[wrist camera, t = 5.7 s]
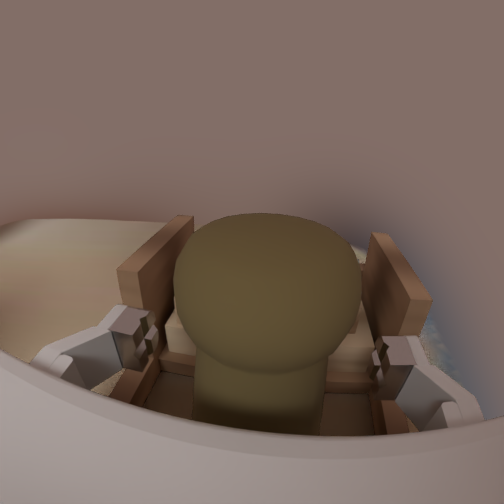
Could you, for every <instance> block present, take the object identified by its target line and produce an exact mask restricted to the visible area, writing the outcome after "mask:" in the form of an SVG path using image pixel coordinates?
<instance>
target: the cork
mask: <svg viewBox="0 0 504 504" xmlns="http://www.w3.org/2000/svg"><path fill="white" fill-rule="evenodd" d="M173 283H174V294H175V302H176V309H177V315H178V317H179V319H180V321H181V323H182V326H183V328H184V330H185V332H186V333H187V334H188V336H189V337H190V339H191V340H192V341H193V343H194V344H195V346H196V359H195V374H194V390H193V409H192V420H194V421H199V422H204V423H209V424H214V425H220V426H226V427H232V428H239V429H246V430H253V431H261V432H271V433H281V434H294V435H311V436H319V430H320V423H321V416H322V409H323V402H324V394H325V385H326V376H327V367H328V357H329V356H330V355H331V354H333V353H334V352H335V350H336V349H337V348H338V347H339V345H340V344H341V343H342V341H343V340H344V339H345V337H346V336H347V334H348V333H349V331H350V330H351V328H352V326H353V325H354V323H355V321H356V318H357V315H358V311H359V308H360V304H361V293H362V276H361V268H360V265H359V263H358V260H357V258H356V255H355V253H354V251H353V249H352V248H351V246H350V244H349V243H348V242H347V241H346V240H344V239H343V238H342V237H341V236H339V235H338V234H336V233H335V232H334V231H333V230H331V229H330V228H328V227H326V226H323V225H321V224H319V223H317V222H314V221H311V220H307V219H303V218H300V217H294V216H288V215H281V214H268V213H253V214H241V215H234V216H228V217H224V218H221V219H218V220H215V221H212V222H210V223H209V224H207V225H205V226H203V227H202V228H200V229H199V230H197V231H195V232H194V233H192V234H191V236H190V238H189V239H188V241H187V242H186V244H185V246H184V248H183V249H182V251H181V253H180V255H179V256H178V258H177V260H176V265H175V270H174V276H173Z"/></svg>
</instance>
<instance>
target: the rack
mask: <svg viewBox="0 0 504 504" xmlns="http://www.w3.org/2000/svg"><path fill="white" fill-rule="evenodd" d="M192 233H194V216H184V215H177V216H176V217H175V218H174V219H173V220H171V221H170V222H169V223H168V224H167V225H165V226H164V227H163V228H162V229H161V230H160V231H158V232H157V233H156V234H155V235H154V236H153V237H152V238H150V239H149V240H148V241H147V242H146V243H145V244H144V245H142V246H141V247H140V248H139V249H138V250H137V251H136V252H135V253H134V254H132V255H131V256H130V257H129V258H128V259H127V260H126V261H125V262H124V263H123V264H121V265H120V266H119V267H118V268H117V269H116V271H117V276H118V282H119V287H120V292H121V297H122V302H123V305H127V306H132V307H137V308H142V309H146V310H151V311H153V312H154V313H155V318H156V321H155V322H154V324H153V325H154V326H155V327H156V328H157V329H158V344H157V347H156V349H155V351H154V353H152V354H150V355H148V358H149V362H148V364H147V365H146V367H145V369H144V371H143V372H138V371H134V370H130V369H125V371H124V373H123V374H122V376H121V378H120V379H119V381H118V382H117V384H116V386H115V387H114V389H113V391H112V392H111V394H110V396H109V397H110V398H113V399H116V400H119V401H122V402H125V403H128V404H132V405H135V406H138V407H143V405H144V403H145V401H146V399H147V397H148V395H149V393H150V391H151V389H152V387H153V385H154V383H155V381H156V379H157V377H158V375H159V373H160V371H161V370H163V371H167V372H172V373H177V374H181V375H186V376H192V377H194V374H195V359H196V346H195V344H194V343H193V341H192V340H191V339H190V337H189V336H188V334H187V333H186V332H185V330H184V328H183V326H182V323H181V321H180V319H179V317H178V315H177V309H176V302H175V294H174V283H173V276H174V270H175V265H176V260H177V258H178V256H179V255H180V253H181V251H182V249H183V248H184V246H185V244H186V242H187V241H188V239H189V238H190V236H191V234H192ZM357 260H358V263H359V259H357ZM359 265H360V268H361V276H362V293H361V304H360V308H359V311H358V315H357V318H356V321H355V323H354V325H353V326H352V328H351V330H350V331H349V333H348V334H347V336H346V337H345V339H344V340H343V341H342V343H341V344H340V345H339V347H338V348H337V349H336V350H335V352H334V353H333V354H331V355H330V356H329V357H328V367H327V376H326V385H325V392H327V393H369V399H370V405H371V411H372V417H373V424H374V431H375V435H391V434H403V433H409V429H408V424H407V420H406V416H405V413H404V412H403V411H402V410H401V408H400V407H399V406H398V405H397V404H396V402H395V400H373V394H372V389H371V386H372V383H373V381H372V380H371V379H370V378H369V373H368V365H369V359H370V356H371V353H372V352H374V351H375V350H376V346H375V342H376V340H377V338H378V336H379V335H382V336H414V335H416V336H417V337H419V335H420V333H421V330H422V328H423V325H424V323H425V320H426V318H427V315H428V313H429V310H430V307H431V304H432V302H433V300H432V298H431V296H430V295H429V293H428V292H427V290H426V289H425V287H424V286H423V284H422V283H421V281H420V280H419V278H418V277H417V275H416V274H415V272H414V271H413V269H412V268H411V266H410V265H409V263H408V262H407V260H406V259H405V258H404V256H403V255H402V253H401V252H400V250H399V249H398V248H397V246H396V245H395V244H394V242H393V241H392V239H391V238H390V237H389V235H388V234H385V233H375V232H371V237H370V243H369V248H368V253H367V257H366V262H365V264H361V263H359Z"/></svg>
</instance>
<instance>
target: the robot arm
mask: <svg viewBox="0 0 504 504" xmlns="http://www.w3.org/2000/svg"><path fill="white" fill-rule="evenodd" d="M155 321H156V318H155V313H154V312H153V311H151V310H146V309H142V308H137V307H132V306H127V305H122V304H116V305H115V306H114V307H113V308H112V310H111V311H110V312H109V313H108V314H107V315H106V316H105V318H104V319H103V320H102V321H101V322H100V323H99V325H98V326H97V327H94V326H93V327H90V328H88V329H85V330H83V331H80V332H78V333H75V334H73V335H71V336H68V337H66V338H63V339H61V340H58V341H56V342H53V343H51V344H48V345H46V346H44V347H43V349H42V350H41V351H40V352H39V353H38V354H37V355H36V356H35V357H34V359H33V360H32V361H31V362H30V363H29V364H28V363H26V362H25V361H23V360H21V359H19V358H17V357H15V356H13V355H11V354H9V353H8V352H6V351H4V350H2V349H0V504H504V416H500V417H497V418H493V419H489V420H484V417H483V414H482V412H481V409H480V407H479V404H478V402H477V400H476V397H474V396H473V395H472V394H471V393H469V392H468V391H467V390H465V389H464V388H463V387H462V386H460V385H459V384H458V383H456V382H455V381H454V380H453V379H451V378H450V377H449V376H447V375H446V374H445V373H444V372H442V371H441V370H440V369H438V368H437V367H436V366H434V365H430V363H429V361H428V359H427V356H426V354H425V352H424V349H423V347H422V345H421V342H420V340H419V338H418V337H417V336H416V335H414V336H382V335H379V336H378V338H377V340H376V342H375V346H376V350H375V351H374V352H372V353H371V356H370V359H369V365H368V373H369V378H370V379H371V380H372V381H373V383H372V386H371V389H372V394H373V400H395V402H396V404H397V405H398V406H399V407H400V408H401V410H402V411H403V412H404V413H405V414H406V415H407V417H408V418H409V419H410V420H411V421H412V423H413V424H414V425H415V426H416V427H417V428H418V430H419V431H420V432H413V433H403V434H391V435H374V436H311V435H294V434H281V433H271V432H261V431H253V430H246V429H239V428H232V427H226V426H220V425H214V424H209V423H204V422H199V421H194V420H189V419H185V418H180V417H176V416H172V415H168V414H164V413H160V412H156V411H152V410H149V409H145V408H142V407H138V406H135V405H132V404H128V403H125V402H122V401H119V400H116V399H113V398H110V397H107V396H104V395H101V394H99V393H96V392H93V391H90V390H91V389H92V388H94V387H95V386H97V385H98V384H100V383H102V382H103V381H105V380H106V379H108V378H109V377H111V376H112V375H114V374H116V373H117V372H119V371H120V370H122V369H123V368H126V369H130V370H134V371H138V372H143V371H144V369H145V367H146V365H147V364H148V362H149V358H148V355H150V354H152V353H154V351H155V349H156V347H157V344H158V329H157V328H156V327H155V326H154V325H153V324H154V322H155Z"/></svg>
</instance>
